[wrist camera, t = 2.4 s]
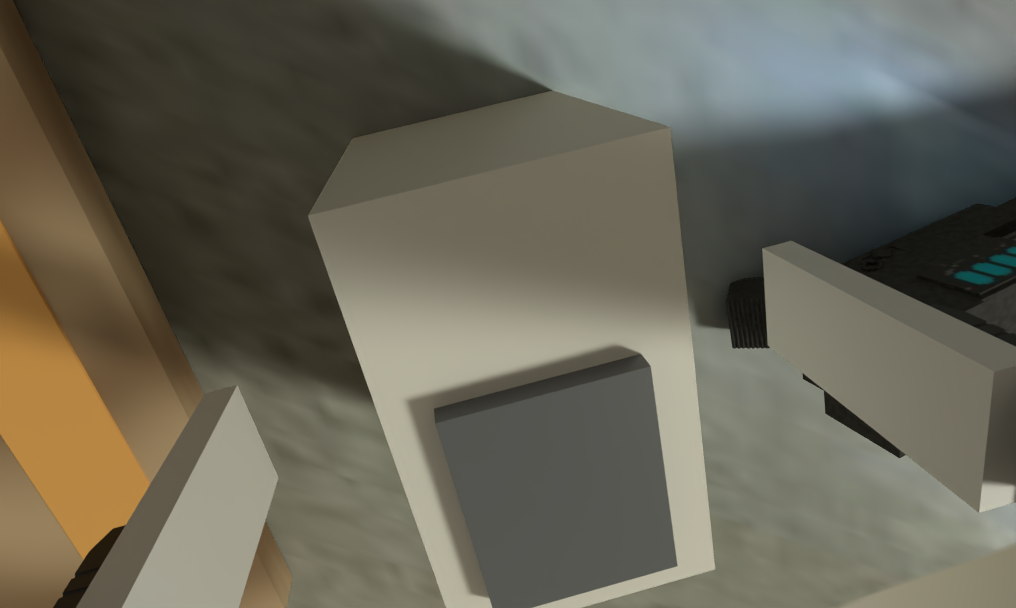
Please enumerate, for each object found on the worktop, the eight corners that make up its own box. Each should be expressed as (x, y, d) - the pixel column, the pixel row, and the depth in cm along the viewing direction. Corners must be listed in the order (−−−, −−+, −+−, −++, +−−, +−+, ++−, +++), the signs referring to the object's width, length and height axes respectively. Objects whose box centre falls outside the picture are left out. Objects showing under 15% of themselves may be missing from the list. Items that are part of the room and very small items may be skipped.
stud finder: (352, 138, 18) (302, 224, 9) (552, 90, 18) (682, 131, 10) (439, 420, 22) (460, 662, 13) (601, 376, 22) (725, 587, 14)
